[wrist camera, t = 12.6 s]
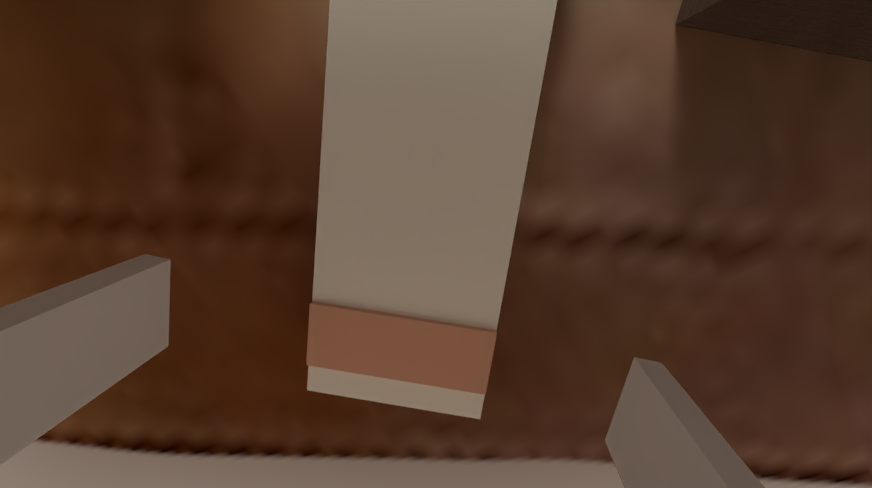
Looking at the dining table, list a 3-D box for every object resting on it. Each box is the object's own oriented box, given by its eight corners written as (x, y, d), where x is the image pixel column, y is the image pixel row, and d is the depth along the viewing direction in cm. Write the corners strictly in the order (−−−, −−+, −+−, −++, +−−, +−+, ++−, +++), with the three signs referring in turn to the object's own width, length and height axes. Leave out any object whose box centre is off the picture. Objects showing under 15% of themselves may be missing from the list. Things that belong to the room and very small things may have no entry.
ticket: (331, 351, 16) (304, 394, 13) (364, -97, 12) (335, -157, 9) (479, 376, 15) (480, 423, 13) (559, -76, 12) (583, -132, 9)
